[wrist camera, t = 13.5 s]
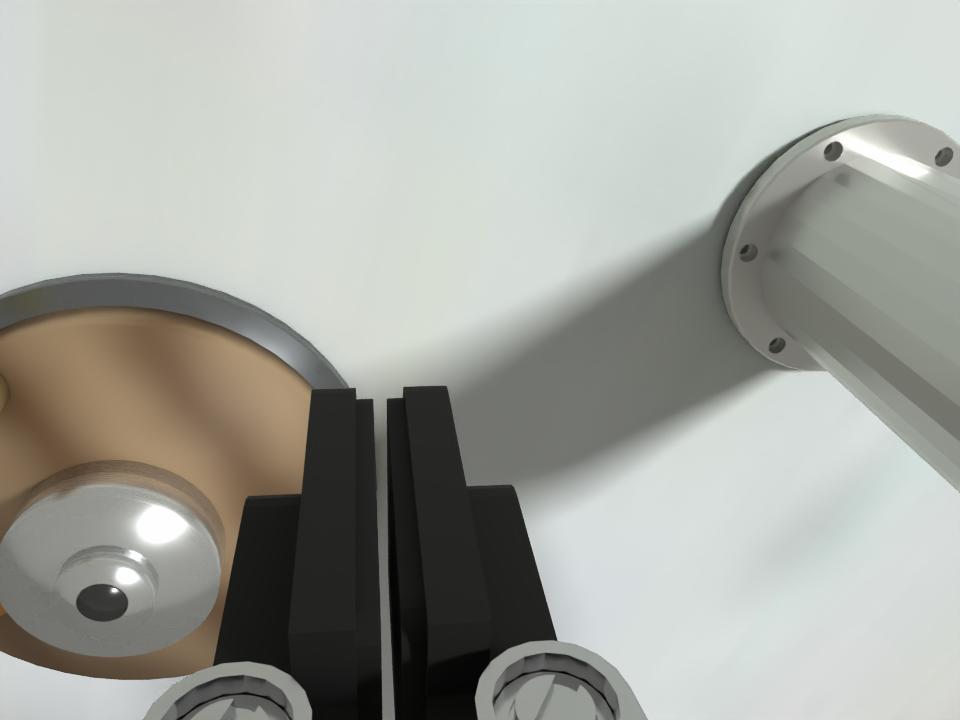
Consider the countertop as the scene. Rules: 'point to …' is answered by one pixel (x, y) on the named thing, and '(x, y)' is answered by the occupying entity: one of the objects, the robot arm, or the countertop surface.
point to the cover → (112, 559)
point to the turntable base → (174, 299)
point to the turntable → (146, 435)
